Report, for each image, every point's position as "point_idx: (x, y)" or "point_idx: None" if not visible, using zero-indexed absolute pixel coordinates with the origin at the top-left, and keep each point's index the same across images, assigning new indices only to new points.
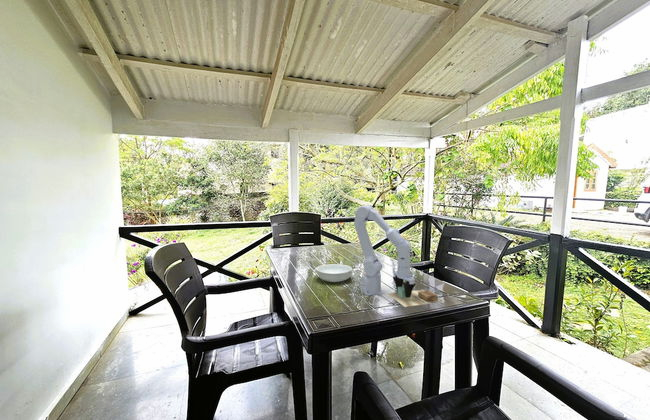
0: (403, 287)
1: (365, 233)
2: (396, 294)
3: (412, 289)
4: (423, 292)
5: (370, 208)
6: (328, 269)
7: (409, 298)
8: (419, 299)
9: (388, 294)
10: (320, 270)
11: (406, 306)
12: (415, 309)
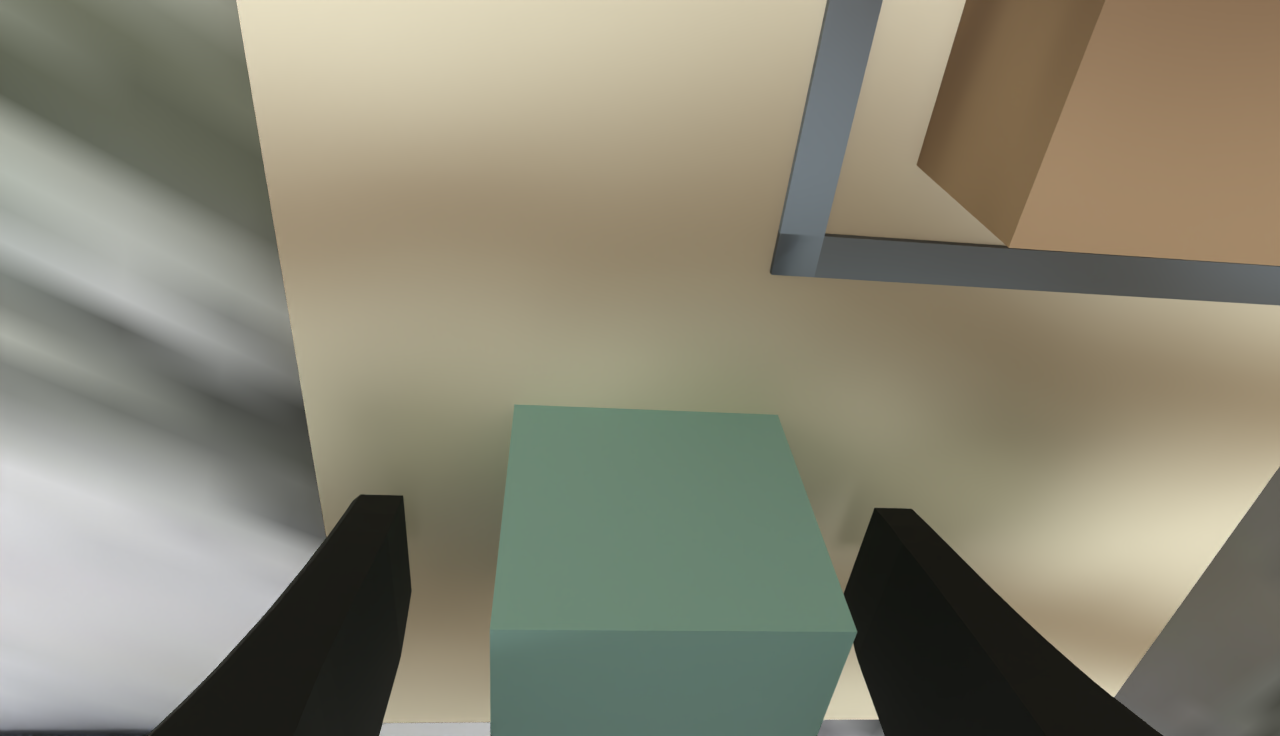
0: (610, 727)
1: None
2: (457, 592)
3: (1132, 723)
4: (1221, 65)
5: None
6: None
7: (844, 462)
8: (1088, 276)
9: (406, 718)
10: None
11: (1107, 691)
12: (1269, 590)
